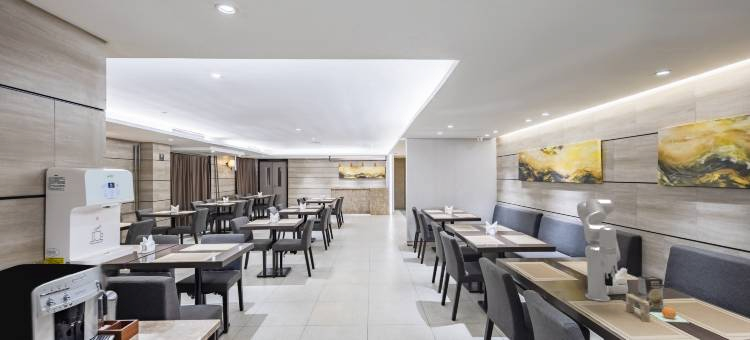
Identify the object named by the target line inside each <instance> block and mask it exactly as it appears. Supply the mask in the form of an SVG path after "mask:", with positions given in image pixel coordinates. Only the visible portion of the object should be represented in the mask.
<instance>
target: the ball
mask: <svg viewBox="0 0 750 340" xmlns="http://www.w3.org/2000/svg"><path fill="white" fill-rule="evenodd" d="M661 313H662V314H663V316H664V317H666V318H668V319H673V318H675V316H676V315H677V313H676V311H675V309H673V308H672V307H670V306H665V307H663V309H661Z"/></svg>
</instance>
